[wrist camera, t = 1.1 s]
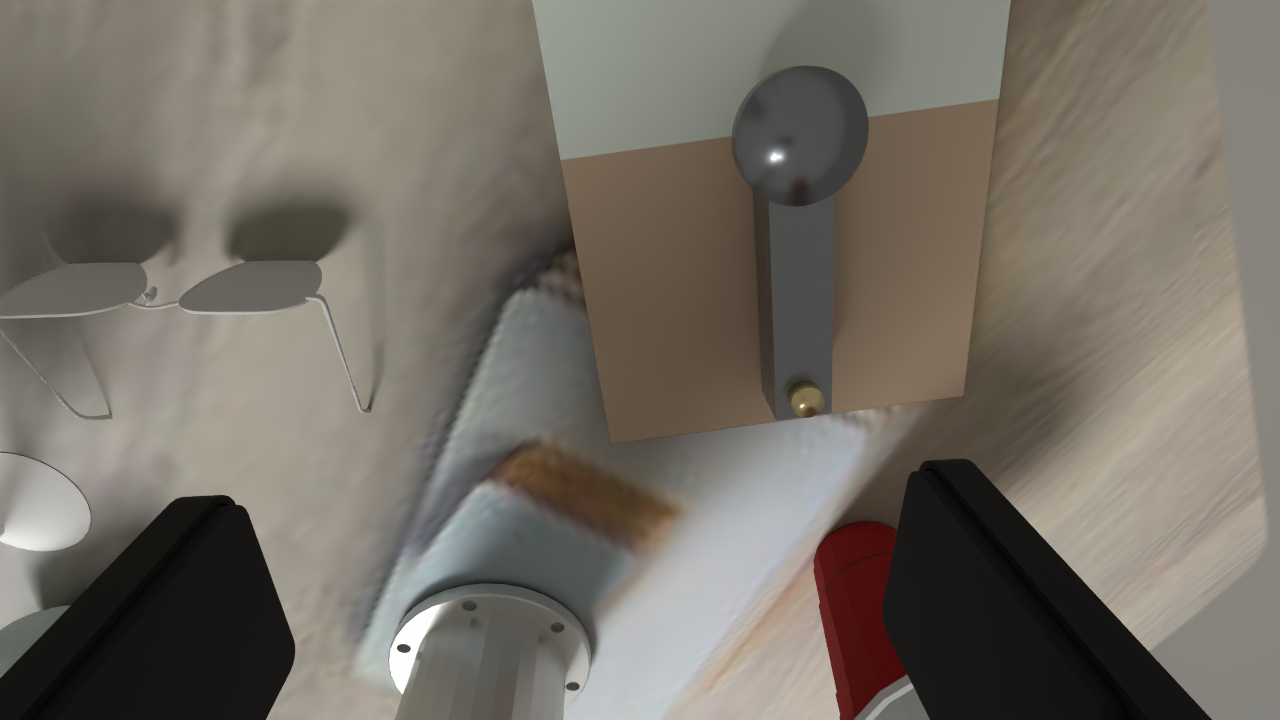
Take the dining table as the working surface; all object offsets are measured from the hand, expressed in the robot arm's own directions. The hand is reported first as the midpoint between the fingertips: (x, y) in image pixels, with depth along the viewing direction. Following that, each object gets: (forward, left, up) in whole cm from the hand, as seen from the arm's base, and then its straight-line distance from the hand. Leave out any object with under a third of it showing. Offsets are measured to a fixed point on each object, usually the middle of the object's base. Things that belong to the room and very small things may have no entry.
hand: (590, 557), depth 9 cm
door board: (+3, -8, -22) cm, 23 cm away
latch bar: (-2, -8, -19) cm, 21 cm away
